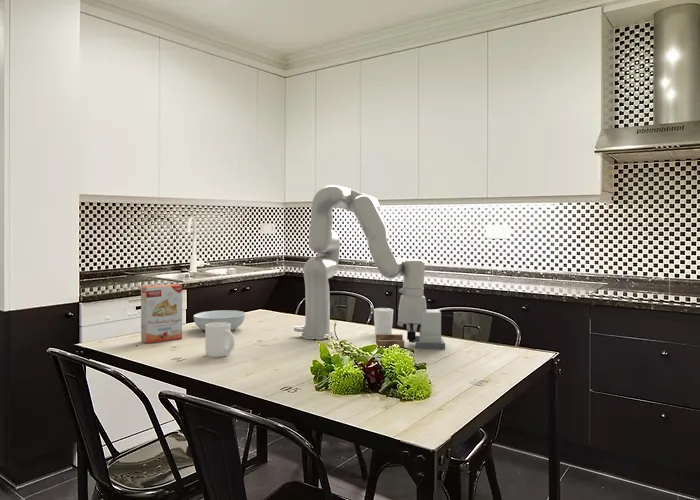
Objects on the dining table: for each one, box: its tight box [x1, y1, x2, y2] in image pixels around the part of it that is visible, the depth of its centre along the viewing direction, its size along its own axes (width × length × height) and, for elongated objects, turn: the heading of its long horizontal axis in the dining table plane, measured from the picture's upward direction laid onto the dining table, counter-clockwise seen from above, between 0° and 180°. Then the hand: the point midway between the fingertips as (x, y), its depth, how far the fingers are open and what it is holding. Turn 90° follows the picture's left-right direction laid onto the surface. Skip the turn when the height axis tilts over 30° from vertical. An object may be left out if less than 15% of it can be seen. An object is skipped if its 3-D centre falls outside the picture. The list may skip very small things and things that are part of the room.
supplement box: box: [419, 308, 442, 343], centre depth 199 cm, size 7×7×13 cm
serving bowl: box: [193, 309, 246, 331], centre depth 224 cm, size 21×21×7 cm
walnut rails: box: [375, 333, 405, 348], centre depth 199 cm, size 10×12×2 cm
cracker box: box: [140, 283, 183, 344], centre depth 203 cm, size 14×6×21 cm, turn 131°
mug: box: [204, 322, 236, 358], centre depth 180 cm, size 12×8×10 cm
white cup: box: [373, 307, 394, 335], centre depth 218 cm, size 8×8×10 cm
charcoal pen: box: [413, 335, 446, 350], centre depth 198 cm, size 10×13×2 cm
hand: (411, 341), depth 199 cm, fingers closed
